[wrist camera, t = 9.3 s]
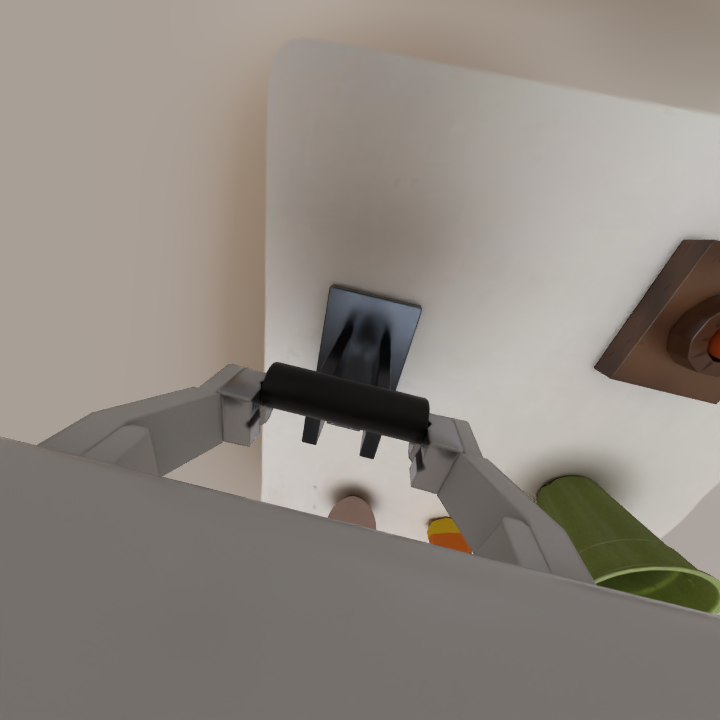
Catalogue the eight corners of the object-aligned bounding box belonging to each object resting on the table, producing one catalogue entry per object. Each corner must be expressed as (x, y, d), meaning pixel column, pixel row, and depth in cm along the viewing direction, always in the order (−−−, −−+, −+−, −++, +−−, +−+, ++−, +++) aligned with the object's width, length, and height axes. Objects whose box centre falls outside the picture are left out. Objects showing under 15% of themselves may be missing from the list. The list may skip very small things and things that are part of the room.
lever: (275, 342, 8) (249, 421, 7) (436, 381, 8) (421, 464, 7) (320, 386, 20) (311, 417, 19) (383, 402, 20) (376, 433, 19)
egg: (335, 514, 40) (320, 590, 31) (329, 483, 37) (310, 557, 29) (379, 516, 39) (375, 595, 30) (375, 484, 36) (370, 562, 28)
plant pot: (534, 532, 37) (589, 644, 27) (504, 478, 33) (553, 583, 23) (631, 510, 33) (737, 629, 23) (607, 447, 30) (721, 555, 19)
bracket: (332, 284, 25) (282, 320, 14) (421, 305, 25) (445, 360, 14) (315, 385, 31) (269, 473, 19) (389, 403, 30) (388, 503, 19)
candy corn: (427, 530, 39) (435, 595, 32) (424, 517, 38) (432, 581, 31) (468, 529, 38) (486, 596, 31) (467, 515, 37) (485, 582, 30)
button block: (683, 239, 21) (744, 239, 17) (806, 268, 21) (894, 274, 17) (593, 368, 26) (626, 388, 22) (691, 391, 26) (740, 416, 22)
